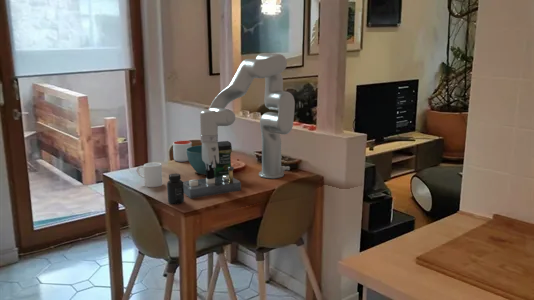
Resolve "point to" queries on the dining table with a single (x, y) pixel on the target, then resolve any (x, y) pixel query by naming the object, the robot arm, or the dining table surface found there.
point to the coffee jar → (223, 159)
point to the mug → (152, 174)
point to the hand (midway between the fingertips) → (210, 178)
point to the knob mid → (210, 181)
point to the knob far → (193, 183)
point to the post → (230, 174)
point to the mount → (211, 187)
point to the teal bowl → (196, 159)
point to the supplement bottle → (175, 189)
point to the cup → (181, 150)
